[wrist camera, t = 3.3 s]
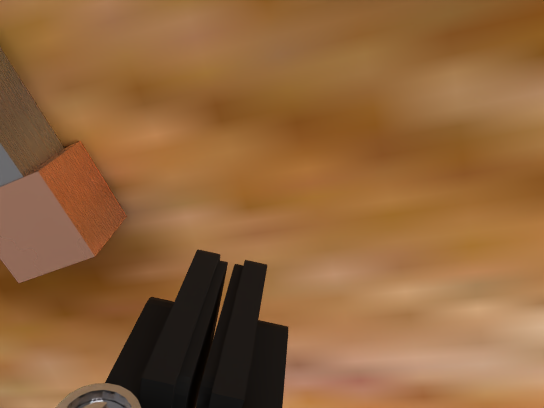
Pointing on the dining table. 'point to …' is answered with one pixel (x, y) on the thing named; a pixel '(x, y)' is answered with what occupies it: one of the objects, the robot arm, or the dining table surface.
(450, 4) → the dining table surface
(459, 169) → the dining table surface
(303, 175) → the dining table surface
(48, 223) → the tongs moving jaw
